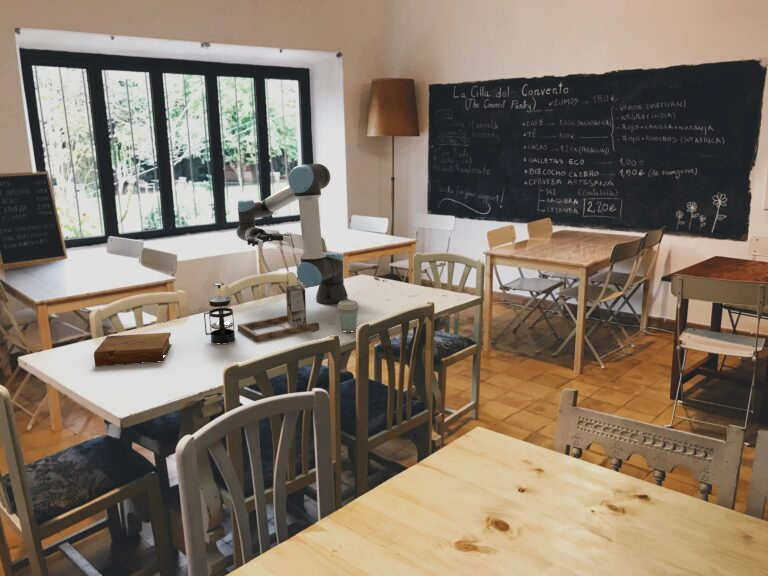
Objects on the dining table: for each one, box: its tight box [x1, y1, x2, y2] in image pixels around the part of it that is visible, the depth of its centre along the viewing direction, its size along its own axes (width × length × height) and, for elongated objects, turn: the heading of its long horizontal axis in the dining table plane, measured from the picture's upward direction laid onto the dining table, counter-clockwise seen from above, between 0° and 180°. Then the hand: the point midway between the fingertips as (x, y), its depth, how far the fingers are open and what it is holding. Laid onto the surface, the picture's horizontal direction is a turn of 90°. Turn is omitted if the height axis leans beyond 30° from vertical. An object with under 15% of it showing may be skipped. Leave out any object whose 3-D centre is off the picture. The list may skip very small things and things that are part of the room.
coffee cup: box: [336, 299, 359, 332], centre depth 257 cm, size 9×8×12 cm
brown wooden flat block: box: [93, 332, 173, 367], centre depth 233 cm, size 23×19×6 cm
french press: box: [203, 282, 236, 345], centre depth 246 cm, size 12×9×23 cm
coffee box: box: [285, 284, 307, 327], centre depth 264 cm, size 9×6×16 cm
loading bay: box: [237, 314, 320, 342], centre depth 261 cm, size 28×18×2 cm, turn 125°
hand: (276, 242), depth 278 cm, fingers open, 13 cm apart
